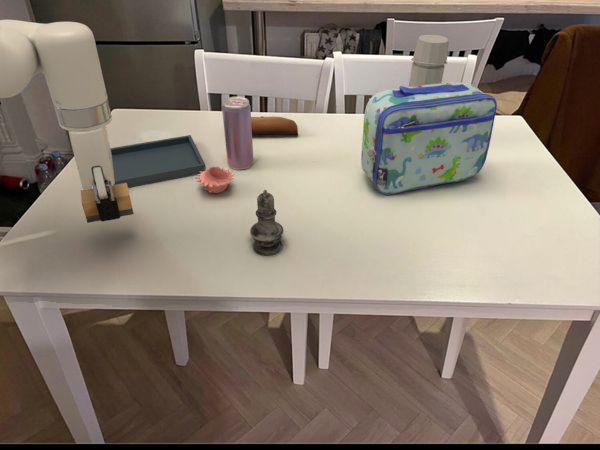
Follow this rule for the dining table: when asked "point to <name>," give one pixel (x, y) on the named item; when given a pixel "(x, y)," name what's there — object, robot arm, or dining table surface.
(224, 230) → the dining table surface
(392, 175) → the lunch box
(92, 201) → the eraser
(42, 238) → the dining table surface
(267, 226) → the chess bishop
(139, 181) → the tray
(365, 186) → the dining table surface
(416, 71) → the water bottle
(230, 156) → the beverage can
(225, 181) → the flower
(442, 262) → the dining table surface
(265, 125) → the sunglasses case
